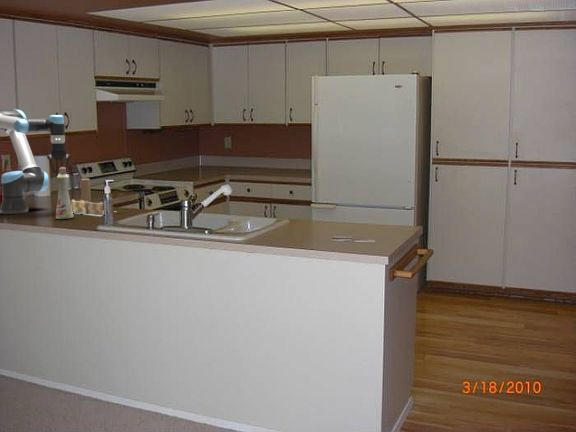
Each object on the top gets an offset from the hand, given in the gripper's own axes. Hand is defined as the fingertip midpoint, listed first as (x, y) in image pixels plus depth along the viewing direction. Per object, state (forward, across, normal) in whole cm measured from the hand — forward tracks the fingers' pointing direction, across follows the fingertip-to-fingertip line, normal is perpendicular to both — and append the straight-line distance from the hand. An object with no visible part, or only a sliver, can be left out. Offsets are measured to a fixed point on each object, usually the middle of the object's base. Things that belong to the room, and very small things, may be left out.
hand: (60, 185), depth 390 cm
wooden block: (+17, +12, +16) cm, 26 cm away
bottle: (+17, +1, -20) cm, 26 cm away
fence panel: (+16, +9, -2) cm, 18 cm away
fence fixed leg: (+16, +17, -13) cm, 27 cm away
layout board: (+16, +18, -4) cm, 25 cm away
